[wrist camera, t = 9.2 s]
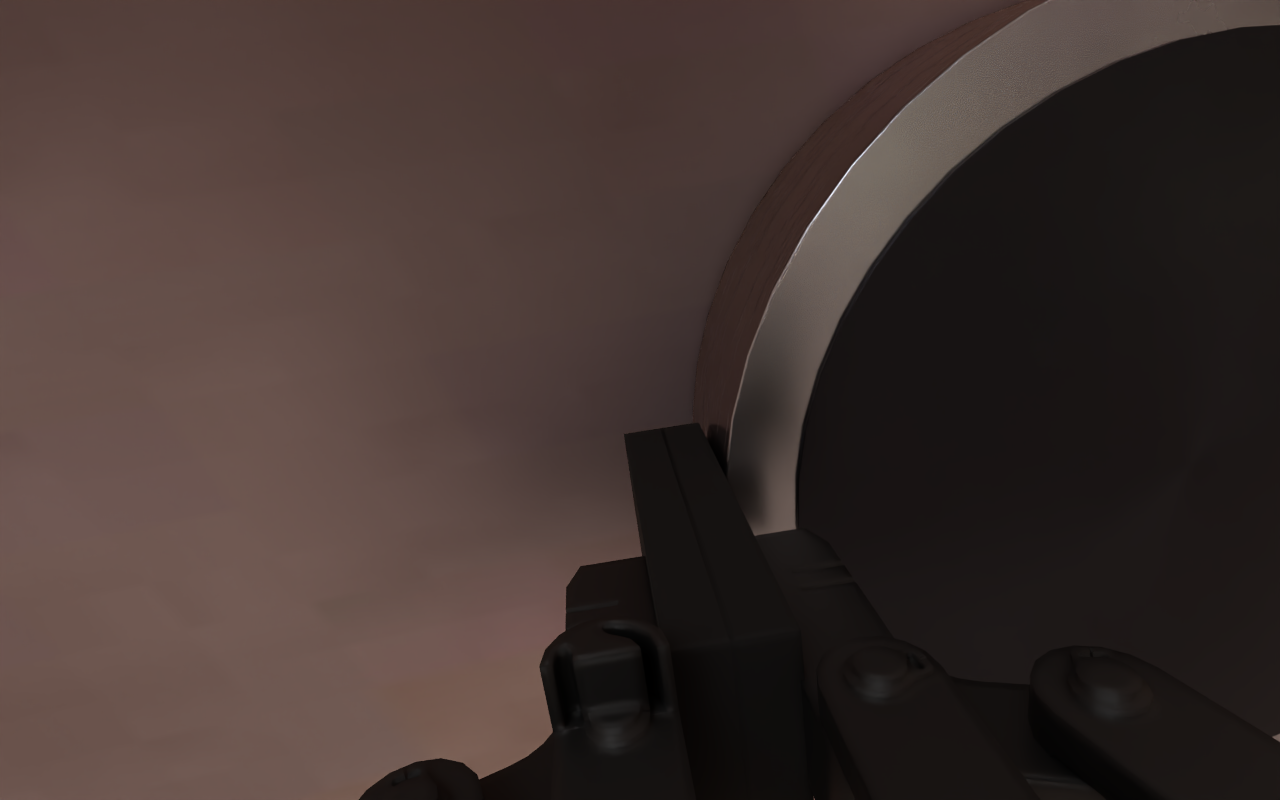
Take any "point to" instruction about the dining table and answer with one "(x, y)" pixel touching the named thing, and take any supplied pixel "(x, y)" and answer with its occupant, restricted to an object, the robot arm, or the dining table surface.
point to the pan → (1031, 343)
